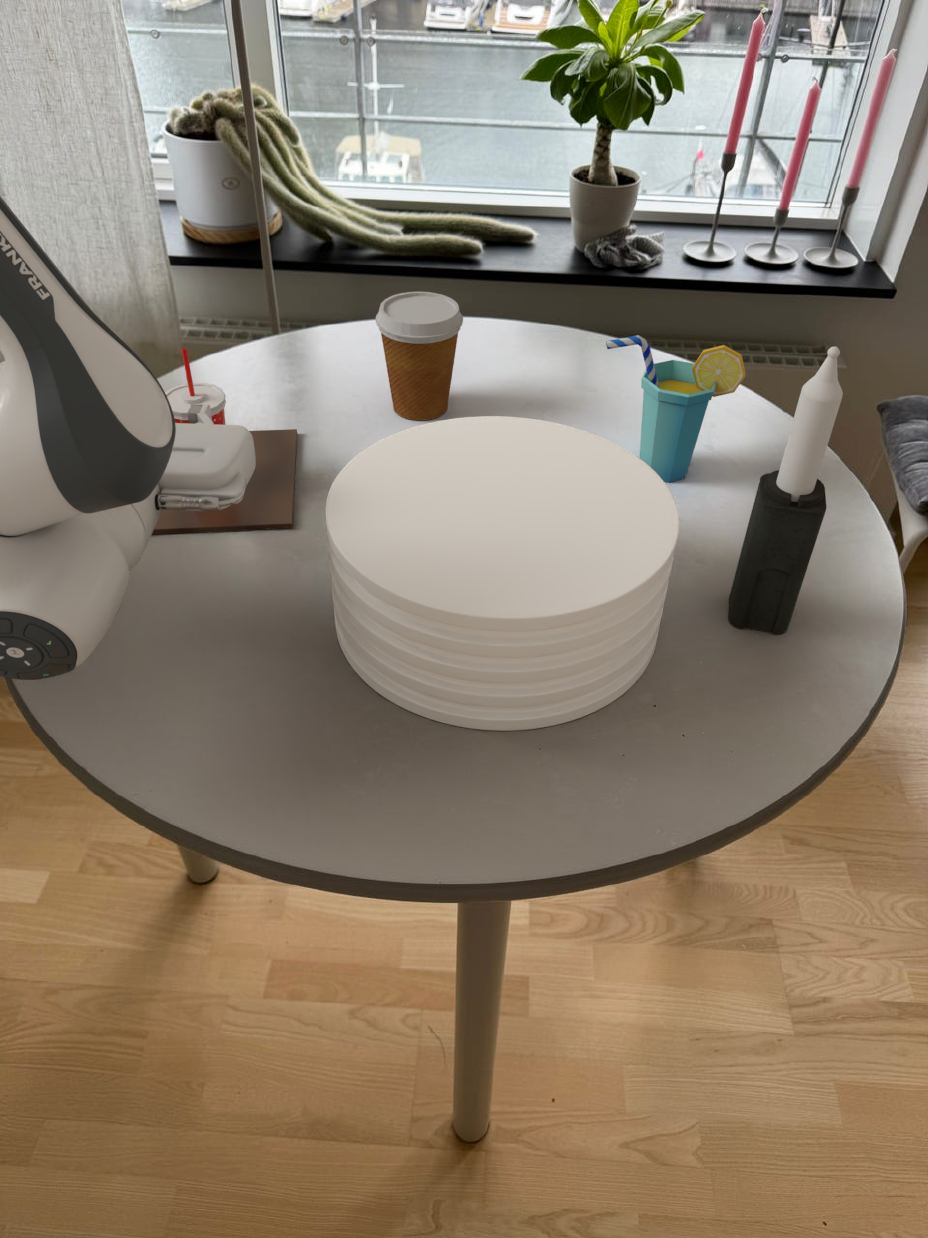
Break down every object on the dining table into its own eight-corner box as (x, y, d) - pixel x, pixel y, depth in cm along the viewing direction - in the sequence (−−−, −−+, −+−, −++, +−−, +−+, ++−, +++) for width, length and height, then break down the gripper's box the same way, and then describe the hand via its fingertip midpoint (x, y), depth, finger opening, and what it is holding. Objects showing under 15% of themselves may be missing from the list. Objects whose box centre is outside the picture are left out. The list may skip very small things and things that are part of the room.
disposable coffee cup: (362, 408, 111) (356, 307, 103) (418, 380, 117) (416, 282, 109) (423, 437, 107) (422, 334, 99) (478, 406, 112) (481, 306, 104)
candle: (786, 600, 86) (869, 336, 70) (787, 637, 83) (875, 367, 66) (728, 591, 87) (797, 327, 71) (727, 627, 84) (799, 358, 67)
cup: (595, 489, 100) (613, 353, 90) (585, 450, 105) (600, 318, 96) (729, 488, 100) (761, 353, 90) (711, 449, 106) (739, 318, 96)
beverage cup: (239, 489, 97) (219, 359, 88) (177, 496, 96) (150, 365, 87) (235, 457, 102) (215, 331, 92) (175, 464, 100) (149, 336, 91)
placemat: (101, 536, 92) (99, 531, 91) (130, 439, 105) (129, 434, 105) (292, 528, 93) (292, 523, 93) (297, 433, 107) (296, 428, 106)
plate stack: (598, 506, 97) (611, 403, 90) (709, 703, 77) (739, 591, 69) (319, 536, 92) (309, 430, 85) (357, 755, 72) (348, 641, 64)
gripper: (233, 471, 68) (266, 379, 78) (-59, 461, 68) (14, 370, 78) (243, 543, 72) (274, 447, 83) (-31, 534, 72) (34, 438, 82)
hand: (145, 409), depth 80 cm, fingers open, 8 cm apart
